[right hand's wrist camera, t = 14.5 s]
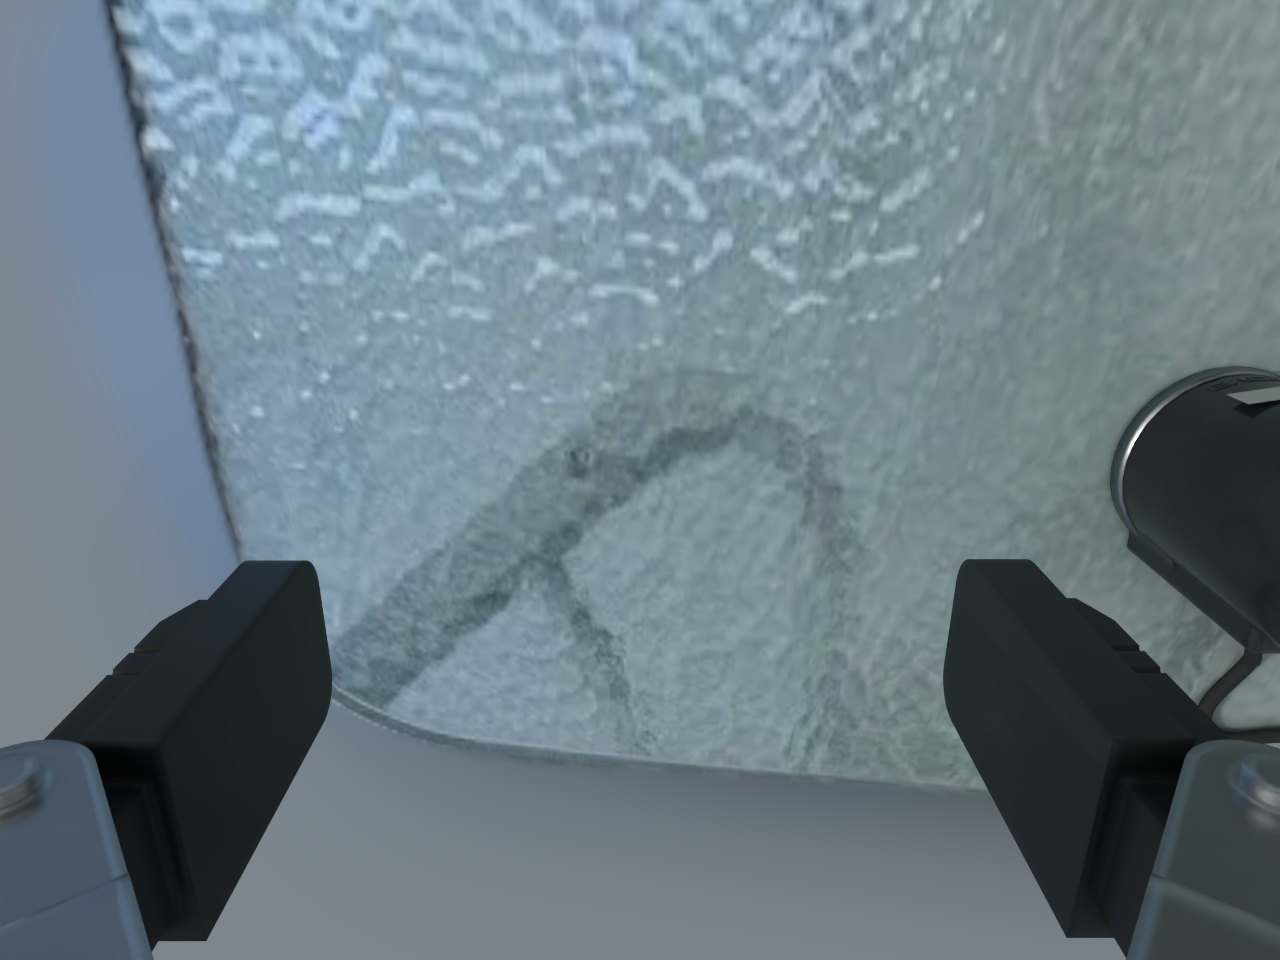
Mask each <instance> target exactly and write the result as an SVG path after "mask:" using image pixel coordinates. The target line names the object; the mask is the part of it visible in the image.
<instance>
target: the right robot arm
mask: <svg viewBox="0 0 1280 960" xmlns="http://www.w3.org/2000/svg"><path fill="white" fill-rule="evenodd" d="M1110 484H1111V494H1112V499H1113V502H1114V506H1115V508H1116V510H1117V513H1118V515H1119V516H1120V518H1121V520H1122V521H1123V523H1124V524H1125V525H1126V526H1127V528H1128V529H1129V539H1128V544H1127V548H1128V549H1129V550H1130V551H1131V552H1133V553H1134V554H1135V555H1136V556H1137V557H1138V558H1140V559H1141V560H1142V561H1143V562H1144V563H1145V564H1147V565H1148V566H1149V567H1150V568H1151V569H1153V570H1154V571H1155V572H1156V573H1157V574H1158V575H1160V576H1161V577H1162V578H1163V579H1164V580H1165V581H1167V582H1168V583H1169V584H1170V585H1171V586H1173V587H1174V588H1175V589H1176V590H1177V591H1178V592H1180V593H1181V594H1182V595H1183V596H1184V597H1186V598H1187V599H1188V600H1189V601H1190V602H1191V603H1193V604H1194V605H1195V606H1196V607H1197V608H1198V609H1200V610H1201V611H1202V612H1203V613H1204V614H1206V615H1207V616H1208V617H1209V618H1210V619H1211V620H1213V621H1214V622H1215V623H1216V624H1217V625H1219V626H1220V627H1221V628H1222V629H1223V630H1224V631H1226V632H1227V633H1228V634H1229V635H1230V636H1231V637H1233V638H1234V639H1235V640H1236V641H1237V642H1239V643H1240V644H1241V645H1242V646H1243V647H1245V650H1244V655H1243V657H1242V658H1241V659H1240V660H1239V661H1238V662H1237V663H1236V664H1235V665H1234V666H1233V667H1232V668H1231V669H1230V670H1229V671H1228V672H1227V673H1226V674H1225V675H1224V676H1223V677H1221V678H1220V679H1219V680H1218V681H1217V682H1216V683H1215V684H1214V685H1213V686H1212V687H1211V688H1210V689H1209V691H1208V692H1207V693H1206V694H1205V695H1204V697H1203V698H1202V699H1201V701H1200V703H1199V705H1198V706H1197V705H1196V703H1195V702H1194V701H1193V700H1192V699H1191V698H1190V697H1189V696H1188V695H1187V694H1186V693H1185V692H1184V691H1183V690H1182V689H1181V688H1180V687H1179V686H1178V685H1177V684H1176V683H1175V682H1174V681H1173V680H1172V679H1171V678H1170V677H1169V676H1168V675H1167V674H1166V673H1161V672H1160V667H1159V666H1158V665H1157V664H1156V663H1155V661H1154V660H1153V659H1152V658H1151V657H1150V656H1149V655H1148V654H1147V653H1146V652H1145V651H1140V650H1139V645H1138V644H1137V643H1136V642H1135V641H1134V640H1133V639H1132V638H1131V637H1130V636H1129V635H1128V634H1127V633H1126V632H1125V631H1124V630H1123V629H1122V628H1121V627H1120V626H1119V625H1118V624H1117V623H1116V622H1115V621H1114V620H1113V619H1111V618H1109V617H1108V616H1106V615H1104V614H1102V613H1101V612H1099V611H1097V610H1095V609H1094V608H1092V607H1090V606H1088V605H1087V604H1085V603H1083V602H1081V601H1079V600H1078V599H1076V598H1066V597H1065V596H1064V595H1063V594H1062V593H1061V592H1060V591H1059V589H1058V588H1057V587H1056V586H1055V585H1054V584H1053V583H1052V582H1051V581H1050V580H1049V579H1048V577H1047V576H1046V575H1045V574H1044V573H1043V572H1042V571H1041V570H1040V569H1039V568H1038V567H1037V566H1036V564H1035V563H1033V562H1032V561H1031V560H1029V559H967V560H965V561H964V562H963V563H962V565H961V567H960V569H959V572H958V575H957V581H956V587H955V594H954V601H953V608H952V615H951V621H950V628H949V635H948V642H947V649H946V656H945V663H944V671H943V686H944V696H945V702H946V706H947V710H948V713H949V716H950V718H951V721H952V723H953V725H954V726H955V728H956V730H957V732H958V734H959V736H960V738H961V740H962V741H963V743H964V745H965V747H966V749H967V751H968V753H969V755H970V756H971V758H972V760H973V762H974V764H975V766H976V768H977V770H978V772H979V773H980V775H981V777H982V779H983V781H984V783H985V785H986V787H987V788H988V790H989V792H990V794H991V796H992V798H993V800H994V802H995V804H996V805H997V807H998V809H999V811H1000V813H1001V815H1002V817H1003V819H1004V820H1005V822H1006V824H1007V826H1008V828H1009V830H1010V832H1011V834H1012V836H1013V837H1014V839H1015V841H1016V843H1017V845H1018V847H1019V849H1020V851H1021V852H1022V854H1023V856H1024V858H1025V860H1026V862H1027V864H1028V866H1029V868H1030V869H1031V871H1032V873H1033V875H1034V877H1035V879H1036V881H1037V883H1038V884H1039V886H1040V888H1041V890H1042V892H1043V894H1044V896H1045V898H1046V900H1047V901H1048V903H1049V905H1050V907H1051V909H1052V911H1053V913H1054V915H1055V916H1056V918H1057V920H1058V922H1059V924H1060V926H1061V928H1062V930H1063V931H1064V933H1065V935H1066V937H1067V938H1115V940H1116V942H1117V943H1118V945H1119V947H1120V948H1121V950H1122V952H1123V953H1124V955H1125V957H1126V960H1280V748H1276V747H1273V746H1269V745H1265V744H1266V743H1280V729H1260V730H1251V731H1242V732H1223V731H1222V730H1221V729H1220V728H1219V727H1218V726H1217V725H1216V724H1215V723H1214V722H1213V721H1212V720H1211V717H1212V714H1213V712H1214V710H1215V709H1216V707H1217V706H1218V704H1219V703H1220V702H1221V701H1222V700H1223V699H1224V697H1225V696H1226V695H1227V694H1228V693H1229V692H1230V691H1231V690H1233V689H1234V688H1235V687H1236V686H1237V685H1238V684H1239V683H1240V682H1241V681H1242V680H1243V679H1245V678H1246V677H1247V676H1248V675H1249V674H1250V673H1251V672H1252V671H1253V670H1254V669H1255V667H1257V666H1258V665H1260V663H1261V660H1262V653H1280V377H1279V376H1277V375H1274V374H1271V373H1269V372H1266V371H1263V370H1259V369H1255V368H1249V367H1236V366H1235V367H1221V368H1214V369H1210V370H1206V371H1202V372H1199V373H1196V374H1193V375H1191V376H1188V377H1186V378H1184V379H1182V380H1180V381H1178V382H1176V383H1174V384H1172V385H1171V386H1169V387H1168V388H1166V389H1164V390H1163V391H1162V392H1160V393H1159V394H1158V395H1156V396H1155V397H1154V398H1153V399H1152V400H1150V401H1149V402H1148V403H1147V404H1146V405H1145V406H1144V407H1143V408H1142V409H1141V410H1140V411H1139V412H1138V414H1137V415H1136V416H1135V417H1134V418H1133V420H1132V421H1131V423H1130V424H1129V425H1128V427H1127V429H1126V430H1125V432H1124V434H1123V435H1122V437H1121V439H1120V442H1119V444H1118V446H1117V449H1116V451H1115V454H1114V458H1113V462H1112V468H1111V478H1110ZM331 692H332V669H331V662H330V655H329V648H328V642H327V635H326V628H325V621H324V615H323V608H322V601H321V594H320V588H319V581H318V576H317V573H316V570H315V568H314V566H313V565H312V563H310V562H309V561H245V562H243V563H242V564H240V565H239V566H238V568H237V569H236V570H235V571H234V572H233V573H232V574H231V575H230V576H229V577H228V578H227V579H226V580H225V582H224V583H223V584H222V585H221V586H220V587H219V588H218V589H217V590H216V591H215V592H214V593H213V594H212V595H211V597H210V598H209V599H208V600H198V601H196V602H194V603H192V604H191V605H189V606H187V607H185V608H183V609H182V610H180V611H178V612H176V613H175V614H173V615H171V616H169V617H168V618H166V619H164V620H162V621H161V622H159V623H158V624H157V625H156V626H155V627H154V628H153V629H152V630H151V631H150V632H149V633H148V634H147V635H146V636H145V637H144V638H143V640H142V641H141V642H140V643H139V644H138V645H137V646H136V647H135V650H134V653H129V654H128V655H127V656H126V657H125V658H124V659H123V660H122V661H121V662H120V663H119V664H118V665H117V666H116V667H115V668H114V669H113V675H107V676H106V677H105V678H104V679H103V680H102V681H101V682H100V683H99V684H98V685H97V686H96V687H95V688H94V689H93V690H92V691H91V692H90V693H89V694H88V695H87V696H86V697H85V698H84V699H83V700H82V701H81V702H80V704H78V705H77V707H76V708H75V709H74V710H73V711H72V712H71V713H70V714H69V715H68V716H67V717H66V718H65V719H64V720H63V721H62V722H61V723H60V724H59V725H58V726H57V727H56V728H55V729H54V730H53V731H52V732H51V733H50V734H49V735H48V736H47V737H46V738H45V739H44V740H38V741H30V742H24V743H20V744H15V745H11V746H7V747H4V748H0V960H154V959H153V955H152V951H153V949H154V947H155V946H156V944H157V942H158V941H206V940H207V938H208V937H209V935H210V933H211V931H212V929H213V927H214V926H215V924H216V922H217V920H218V918H219V916H220V914H221V912H222V911H223V909H224V907H225V905H226V903H227V901H228V899H229V898H230V896H231V894H232V892H233V890H234V888H235V887H236V885H237V883H238V881H239V879H240V877H241V875H242V874H243V872H244V870H245V868H246V866H247V864H248V862H249V860H250V859H251V857H252V855H253V853H254V851H255V849H256V847H257V846H258V844H259V842H260V840H261V838H262V836H263V834H264V833H265V831H266V829H267V827H268V825H269V823H270V821H271V820H272V818H273V816H274V814H275V812H276V810H277V808H278V807H279V805H280V803H281V801H282V799H283V797H284V795H285V794H286V792H287V790H288V788H289V786H290V784H291V782H292V781H293V779H294V777H295V775H296V773H297V771H298V769H299V768H300V766H301V764H302V762H303V760H304V758H305V756H306V754H307V753H308V751H309V749H310V747H311V745H312V743H313V741H314V740H315V738H316V736H317V734H318V732H319V730H320V728H321V727H322V725H323V723H324V721H325V719H326V716H327V713H328V709H329V705H330V700H331Z"/></svg>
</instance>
